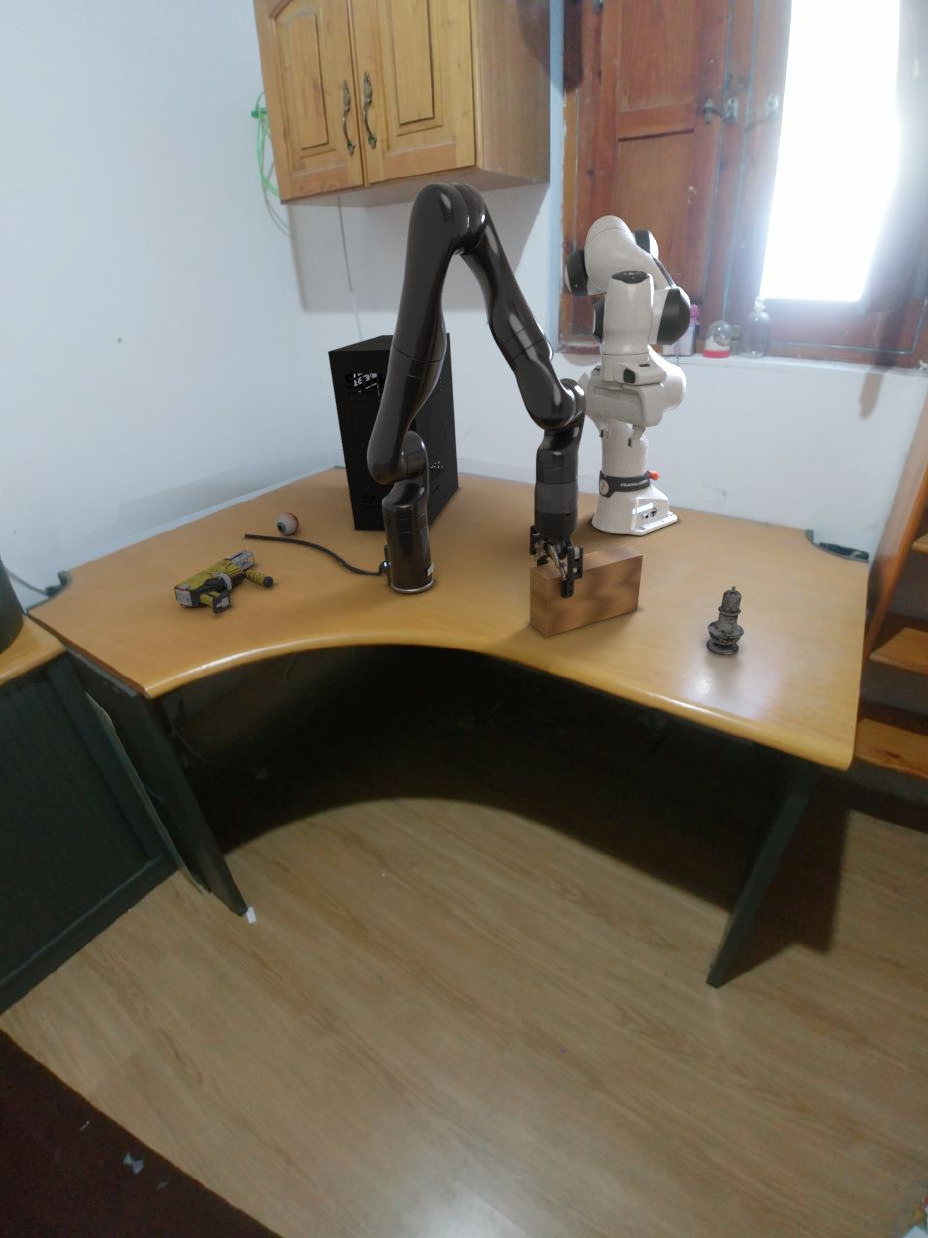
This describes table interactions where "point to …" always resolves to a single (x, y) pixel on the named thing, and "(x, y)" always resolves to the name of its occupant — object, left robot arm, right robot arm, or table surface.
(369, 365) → the cardboard box
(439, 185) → the left robot arm
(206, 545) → the table surface
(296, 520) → the eyeball
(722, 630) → the dark grey chess piece
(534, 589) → the box
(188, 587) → the toy gun
